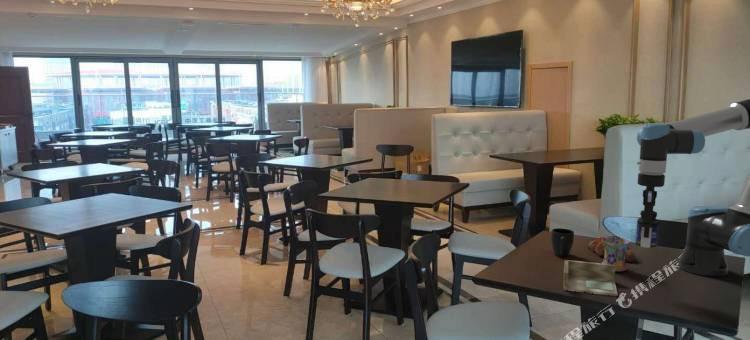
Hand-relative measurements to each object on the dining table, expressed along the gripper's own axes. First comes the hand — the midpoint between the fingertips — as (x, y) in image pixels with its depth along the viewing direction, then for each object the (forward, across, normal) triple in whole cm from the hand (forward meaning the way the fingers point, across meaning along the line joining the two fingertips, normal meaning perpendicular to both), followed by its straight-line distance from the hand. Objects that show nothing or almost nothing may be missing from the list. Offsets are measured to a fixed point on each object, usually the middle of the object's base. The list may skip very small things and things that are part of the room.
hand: (645, 244), depth 171 cm
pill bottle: (+1, 0, 0) cm, 1 cm away
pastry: (+16, -35, -12) cm, 40 cm away
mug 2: (+15, -18, -9) cm, 26 cm away
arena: (+15, +5, -15) cm, 22 cm away
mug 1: (+15, -24, -28) cm, 40 cm away
